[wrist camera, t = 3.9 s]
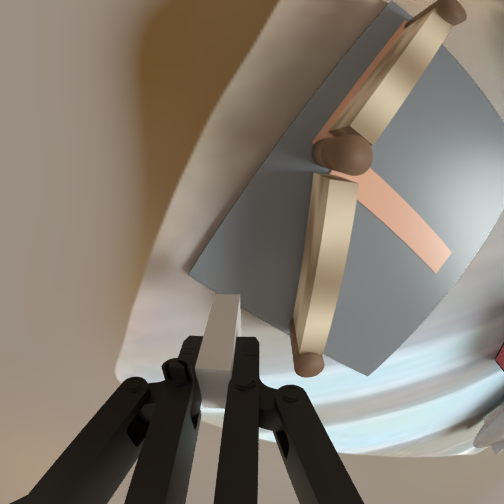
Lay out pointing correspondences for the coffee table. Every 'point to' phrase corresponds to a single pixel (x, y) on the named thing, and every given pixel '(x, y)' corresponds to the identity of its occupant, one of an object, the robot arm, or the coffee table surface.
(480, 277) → the coffee table surface
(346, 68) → the board
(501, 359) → the puzzle cube
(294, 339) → the fence gate
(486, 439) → the model blimp
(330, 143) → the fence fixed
